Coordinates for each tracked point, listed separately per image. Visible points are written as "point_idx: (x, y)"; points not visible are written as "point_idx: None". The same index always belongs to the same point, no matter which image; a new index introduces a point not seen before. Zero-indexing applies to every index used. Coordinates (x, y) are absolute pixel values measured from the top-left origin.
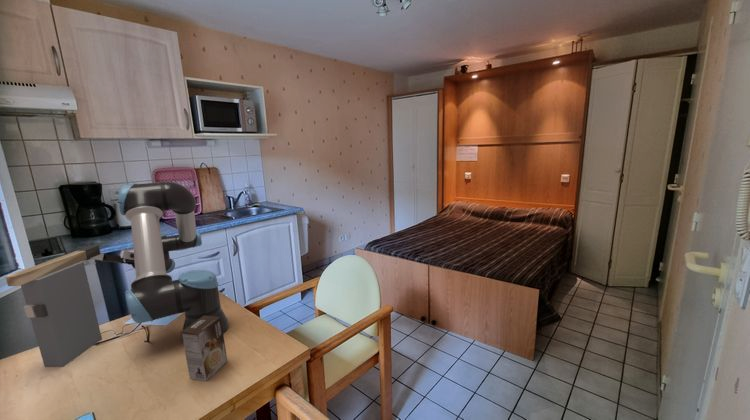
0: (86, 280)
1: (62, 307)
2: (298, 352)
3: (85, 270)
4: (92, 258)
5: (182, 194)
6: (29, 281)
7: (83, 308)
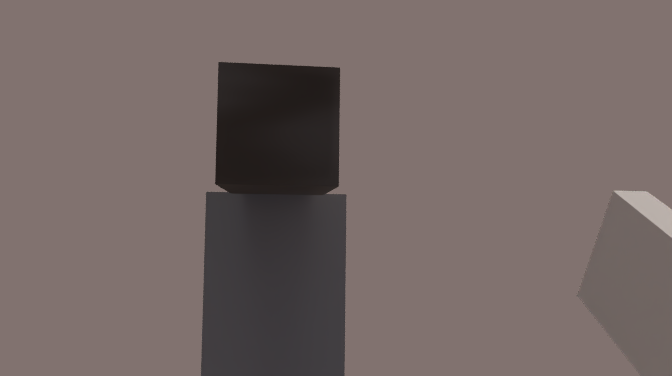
0: (203, 349)
1: None
2: None
3: (204, 266)
4: (634, 361)
5: None
6: None
7: None
